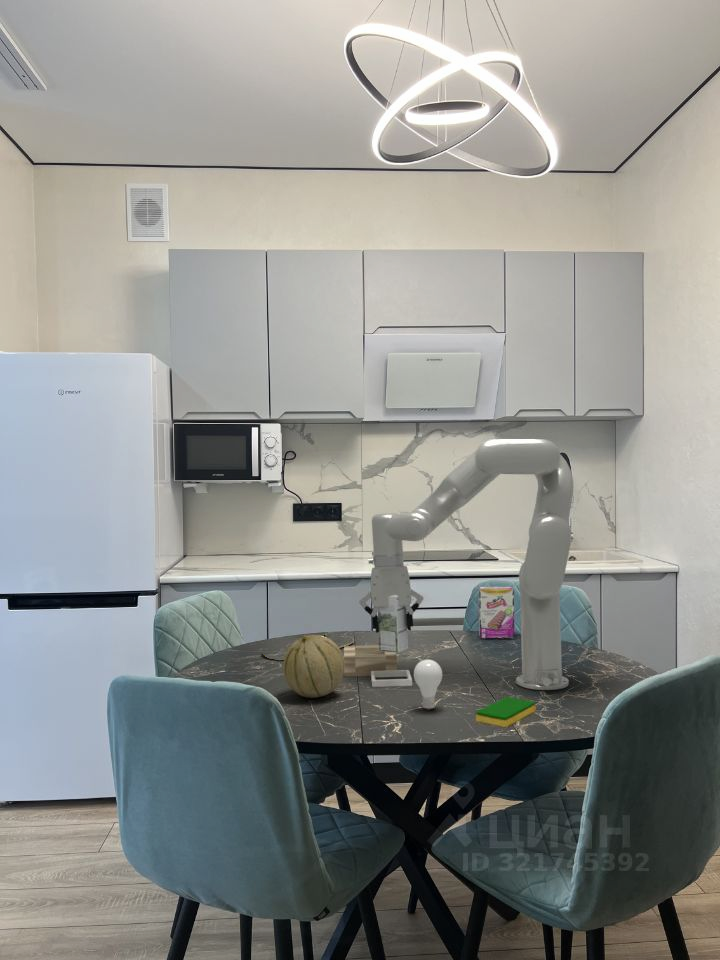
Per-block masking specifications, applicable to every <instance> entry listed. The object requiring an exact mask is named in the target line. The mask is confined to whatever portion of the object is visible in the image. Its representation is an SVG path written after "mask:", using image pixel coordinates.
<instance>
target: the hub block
mask: <svg viewBox="0 0 720 960" xmlns="http://www.w3.org/2000/svg"><path fill="white" fill-rule="evenodd" d="M343 657H344V662H345V669H344V675H343V677H344V676H345V677H368V676H369V677H371V671H387V670H398V656H397V652H387V651H379V644H377V645H376V644H371V645H350V646H344V648H343Z"/></svg>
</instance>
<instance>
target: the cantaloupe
mask: <svg viewBox="0 0 720 960" xmlns="http://www.w3.org/2000/svg"><path fill="white" fill-rule="evenodd" d="M321 635H322V634H310V635H304V636H302V637H301V638H298V639H299V640H297V639H296V640H297V641H295V642H294V643H293V644H292V645H291V646H290V647H288V649H287V650H286V653H285V655H284V661H282V672H283V677H284V680H285V681H286V684H287V685H288V686H289V688H290V689H291V690H292V691H293V692H295V693H296V694H298V695H299V696H301V697H305V698H311V699H315V698H321V697H324V696H326V695H329V694H331V693H332V692H334V691H335V690H336V689H337V688H338V687H339V685H340V683H341V682H342V679H343V678H344V669H345V662H344V653H342V649H339V646H338V645H337V644H336V642H334V640H333V639H329V638H327V637H324V636H321Z"/></svg>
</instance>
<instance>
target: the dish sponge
mask: <svg viewBox="0 0 720 960" xmlns="http://www.w3.org/2000/svg"><path fill="white" fill-rule="evenodd" d="M536 709H537V707H536V702H535V701H532V700H527V699H522V698H516V697H509V696H506V697H504V698H501V699H499V700H498V701H495V702H493V703H491V704H489V705H487V706H484V707H483V708H481V709H479V710H476V712H475V714H476V715H475V719H476V720H475V721H476V722H478V723H484V724H488V725H492V726H496V727H502V728H507V727H509V726H511V725H513V724H514V723H516V722H518V721H521V720H522V719H524V718H526V717H528V716H529V715H531V714H533V713H535V712H536Z"/></svg>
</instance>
